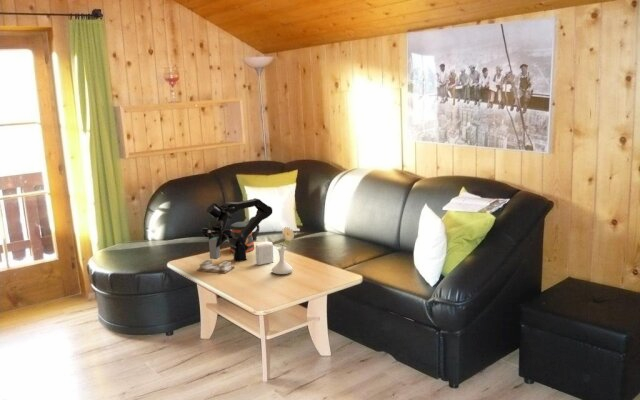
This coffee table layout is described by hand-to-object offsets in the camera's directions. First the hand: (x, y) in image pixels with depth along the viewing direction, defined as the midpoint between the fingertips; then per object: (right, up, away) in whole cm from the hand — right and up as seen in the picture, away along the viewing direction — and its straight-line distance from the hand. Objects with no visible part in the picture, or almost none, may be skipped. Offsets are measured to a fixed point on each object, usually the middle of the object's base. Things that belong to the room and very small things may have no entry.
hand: (213, 246), depth 324 cm
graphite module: (+1, -6, +3) cm, 7 cm away
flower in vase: (+39, -14, -4) cm, 41 cm away
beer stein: (+12, -5, +42) cm, 44 cm away
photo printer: (+27, -11, +13) cm, 32 cm away
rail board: (+1, -13, +4) cm, 14 cm away
